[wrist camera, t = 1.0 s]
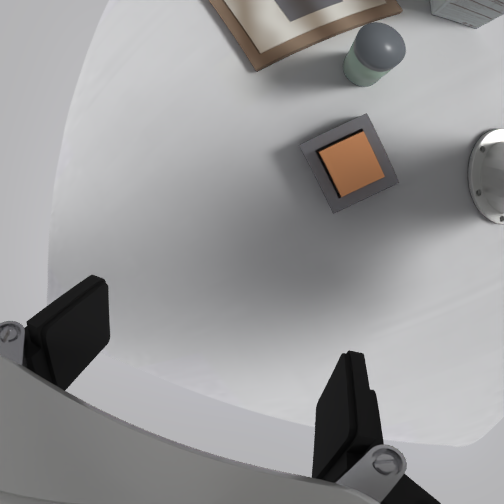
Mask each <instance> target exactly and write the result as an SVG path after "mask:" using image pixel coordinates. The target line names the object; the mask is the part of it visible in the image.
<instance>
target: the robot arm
mask: <svg viewBox="0 0 504 504" xmlns="http://www.w3.org/2000/svg"><path fill="white" fill-rule="evenodd" d="M468 181H469V188H470V192H471V196H472V198H473V201H474V203H475V205H476V207H477V208H478V210H479V211H480V212H481V213H482V214H483V216H484V217H486V218H487V219H489V220H490V221H492V222H495V223H497V224H501V225H504V129H494V130H491V131H489V132H486V133H485V134H484V135H483V136H482V137H481V138H480V139H479V140H478V141H477V143H476V145H475V147H474V149H473V150H472V154H471V157H470V161H469V167H468ZM476 191H477V192H476ZM109 340H110V325H109V300H108V285H107V284H106V282H105V280H104V279H103V278H100V277H97V276H95V275H90V276H89V277H87V278H86V279H84V280H83V281H82V282H80V283H79V284H77V285H76V286H74V287H73V288H72V289H70V290H69V291H67V292H66V293H65V294H63V295H62V296H60V297H59V298H58V299H56V300H55V301H54V302H52V303H51V304H49V305H48V306H47V307H46V308H44V309H43V310H42V311H40V312H39V313H37V314H36V315H35V316H33V317H32V318H31V319H30V320H28V321H27V327H25V328H24V327H23V326H22V325H21V324H20V323H18V322H15V321H6V322H3V323H0V504H441V503H440V502H438V501H437V500H436V499H434V497H432V496H431V495H430V494H428V493H427V492H426V491H425V490H424V489H422V488H421V487H420V486H419V485H417V484H416V483H415V482H414V481H413V480H411V479H410V478H409V477H408V476H407V475H405V474H404V473H405V471H406V466H407V463H406V459H405V457H404V455H403V454H402V453H401V452H400V451H399V450H398V449H396V448H394V447H393V446H390V445H384V444H383V436H382V429H381V422H380V415H379V409H378V403H377V397H376V393H375V391H374V390H370V388H369V381H368V375H367V369H366V364H365V358H364V354H363V353H359V352H354V351H348V352H347V353H346V354H345V353H342V354H341V356H340V358H339V361H338V363H337V365H336V367H335V369H334V371H333V373H332V375H331V377H330V379H329V381H328V383H327V385H326V387H325V389H324V391H323V393H322V395H321V397H320V399H319V401H318V403H317V407H316V422H315V441H314V456H313V469H312V478H310V477H306V476H301V475H296V474H291V473H286V472H281V471H276V470H271V469H267V468H263V467H258V466H255V465H251V464H247V463H243V462H239V461H235V460H231V459H228V458H224V457H221V456H217V455H214V454H211V453H208V452H204V451H201V450H198V449H195V448H192V447H189V446H186V445H183V444H181V443H177V442H175V441H172V440H170V439H167V438H164V437H162V436H159V435H156V434H154V433H151V432H149V431H146V430H144V429H142V428H139V427H137V426H134V425H132V424H130V423H128V422H126V421H123V420H121V419H119V418H117V417H115V416H113V415H110V414H108V413H106V412H104V411H102V410H100V409H98V408H96V407H94V406H92V405H90V404H88V403H86V402H84V401H83V400H81V399H78V398H77V397H75V396H73V395H71V394H69V393H68V392H66V391H65V390H66V389H67V388H68V387H69V386H70V384H71V383H72V382H73V381H74V380H75V379H76V378H77V377H78V375H79V374H80V373H81V372H82V371H83V370H84V369H85V368H86V367H87V366H88V365H89V363H90V362H91V361H92V360H93V359H94V358H95V357H96V356H97V355H98V354H99V353H100V351H101V350H102V349H103V348H104V347H105V346H106V345H107V344H108V342H109Z"/></svg>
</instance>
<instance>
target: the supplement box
mask: <svg viewBox="0 0 504 504" xmlns="http://www.w3.org/2000/svg"><path fill="white" fill-rule="evenodd" d="M430 4H431V13H432V14H433V15H436V16H439V17H443V18H446V19H449V20H452V21H455V22H458V23H461V24H464V25H467V26H470V27H473V28H476V29H477V28H479V27H481V26H482V25H484V24H486V23H488V22H490V21H492V20H494V19H495V18H497V17H499V16H501V15H503V14H504V0H430Z"/></svg>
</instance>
